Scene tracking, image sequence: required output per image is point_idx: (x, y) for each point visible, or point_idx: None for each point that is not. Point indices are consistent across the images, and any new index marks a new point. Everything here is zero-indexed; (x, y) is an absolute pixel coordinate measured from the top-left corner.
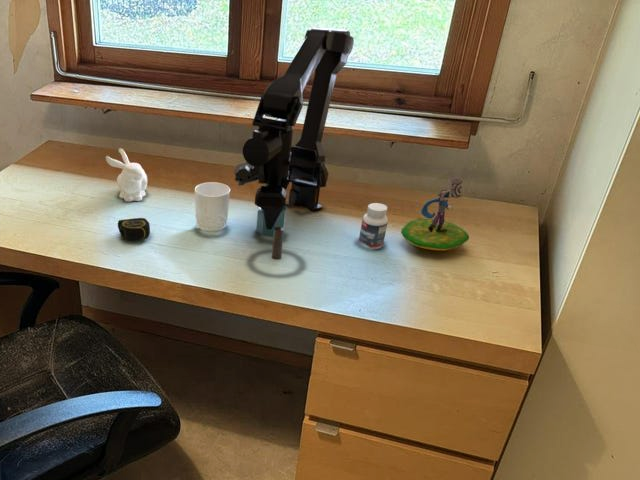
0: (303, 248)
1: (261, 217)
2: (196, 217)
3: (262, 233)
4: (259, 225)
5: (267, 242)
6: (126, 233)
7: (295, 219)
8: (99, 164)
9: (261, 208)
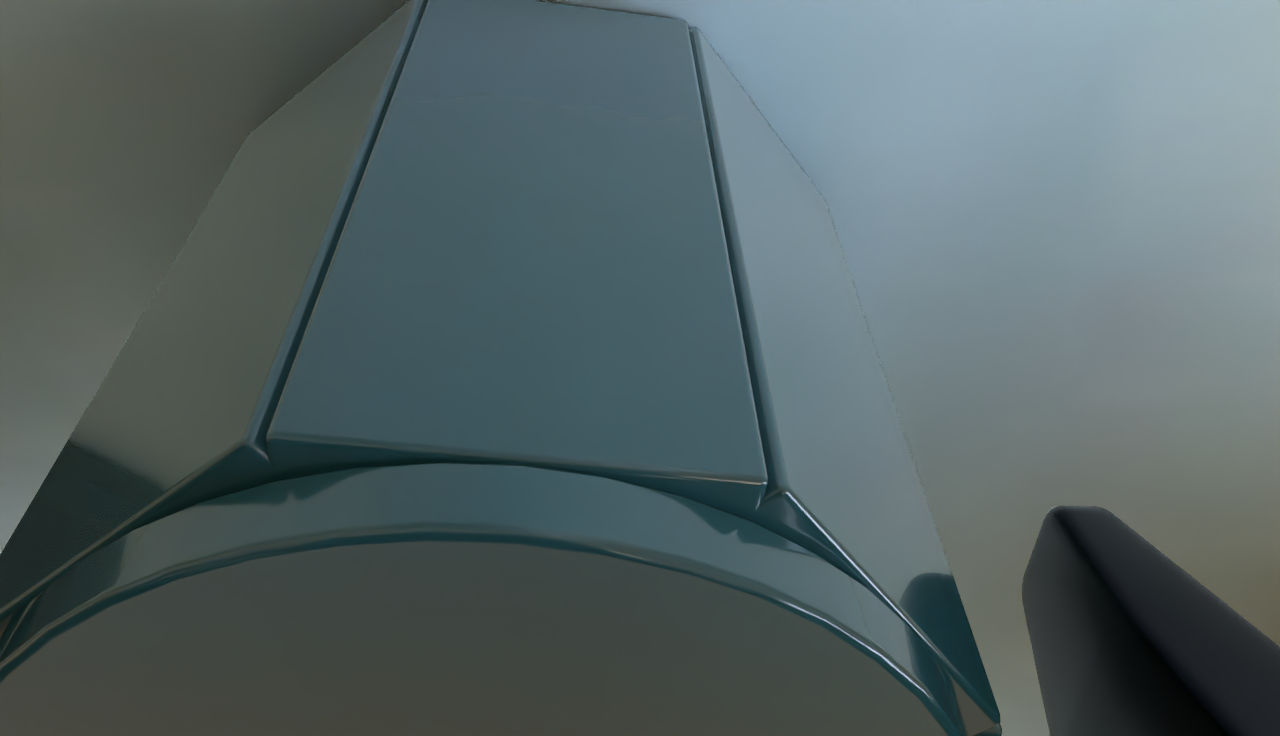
0: None
1: (106, 449)
2: None
3: (198, 228)
4: (262, 222)
5: None
6: None
7: (1233, 602)
8: None
9: (231, 635)
